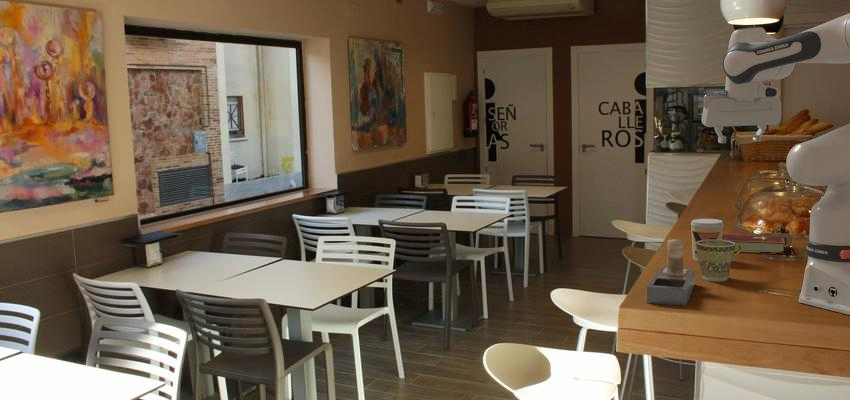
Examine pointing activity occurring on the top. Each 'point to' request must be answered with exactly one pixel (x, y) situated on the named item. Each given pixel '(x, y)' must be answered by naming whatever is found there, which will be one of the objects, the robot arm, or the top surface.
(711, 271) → the ceramic cup
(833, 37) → the robot arm
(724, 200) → the top surface
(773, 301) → the top surface
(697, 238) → the coffee cup
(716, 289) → the top surface
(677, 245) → the peg
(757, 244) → the hardcover book
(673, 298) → the grey slotted box
